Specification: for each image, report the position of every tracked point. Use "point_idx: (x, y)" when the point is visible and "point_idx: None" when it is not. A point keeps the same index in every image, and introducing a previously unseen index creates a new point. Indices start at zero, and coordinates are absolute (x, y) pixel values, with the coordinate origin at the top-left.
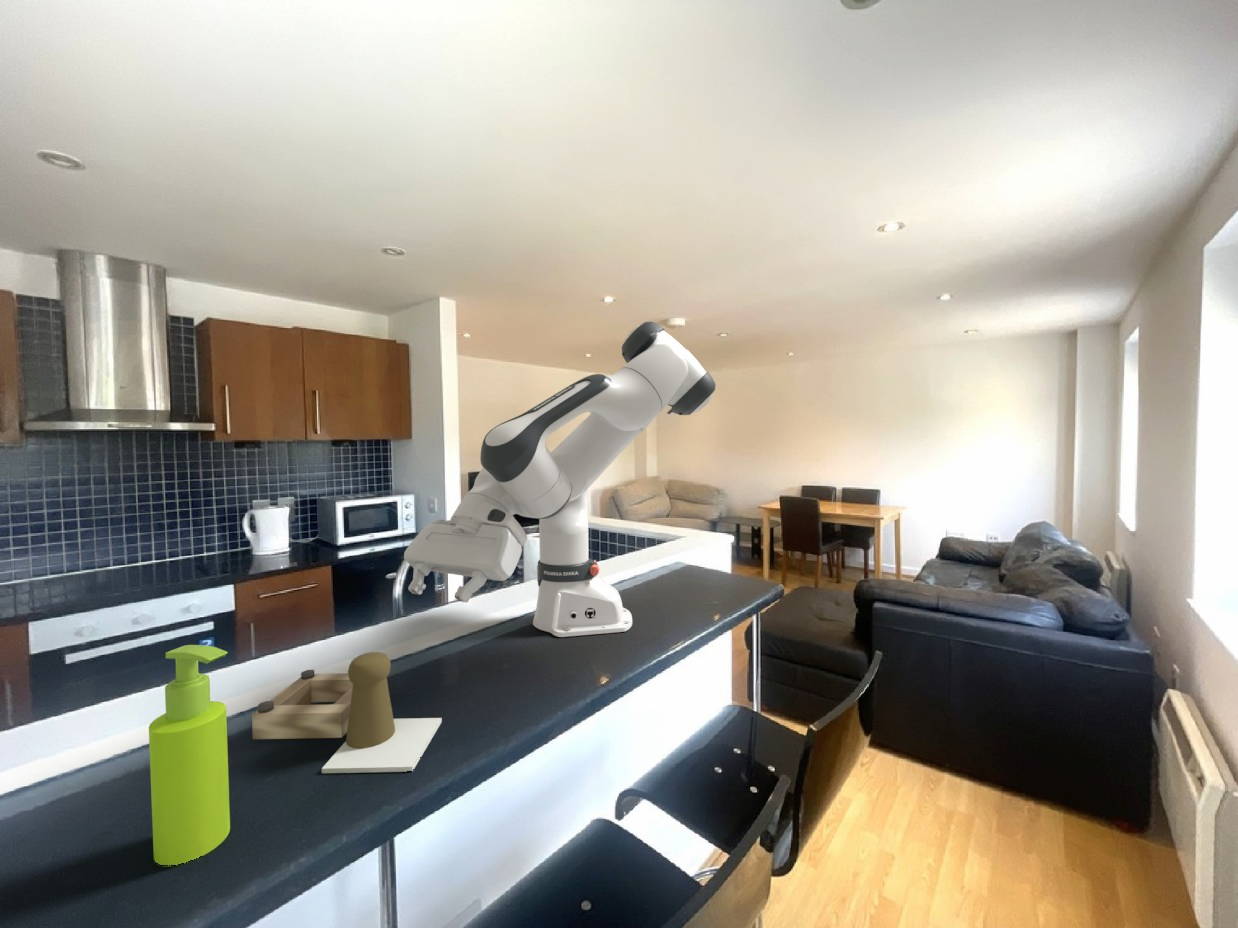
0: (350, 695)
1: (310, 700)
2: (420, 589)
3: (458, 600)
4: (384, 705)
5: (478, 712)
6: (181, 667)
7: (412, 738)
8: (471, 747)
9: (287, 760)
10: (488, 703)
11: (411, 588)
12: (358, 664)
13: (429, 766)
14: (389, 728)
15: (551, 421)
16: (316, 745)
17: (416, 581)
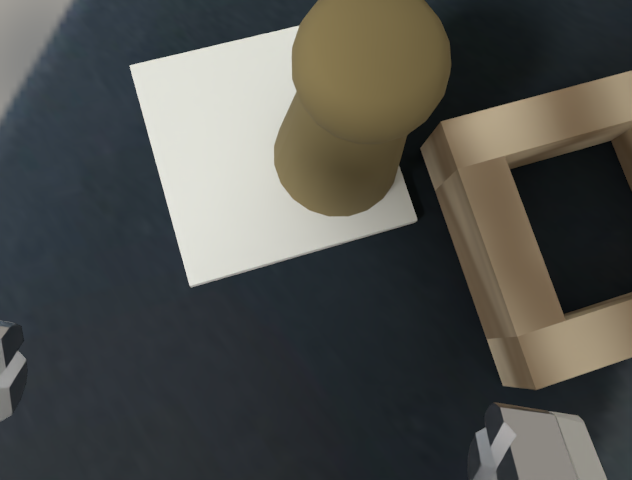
0: (500, 215)
1: None
2: (483, 468)
3: (16, 358)
4: (290, 113)
5: (102, 371)
6: None
7: (209, 169)
8: (29, 194)
9: (468, 42)
10: (95, 435)
11: (540, 411)
12: None
13: (101, 98)
14: (278, 150)
15: None
16: (454, 106)
17: (548, 468)
